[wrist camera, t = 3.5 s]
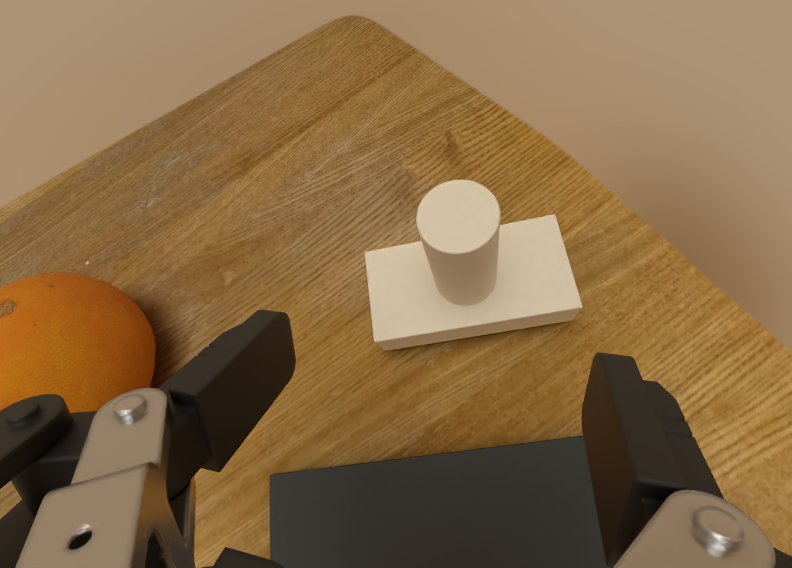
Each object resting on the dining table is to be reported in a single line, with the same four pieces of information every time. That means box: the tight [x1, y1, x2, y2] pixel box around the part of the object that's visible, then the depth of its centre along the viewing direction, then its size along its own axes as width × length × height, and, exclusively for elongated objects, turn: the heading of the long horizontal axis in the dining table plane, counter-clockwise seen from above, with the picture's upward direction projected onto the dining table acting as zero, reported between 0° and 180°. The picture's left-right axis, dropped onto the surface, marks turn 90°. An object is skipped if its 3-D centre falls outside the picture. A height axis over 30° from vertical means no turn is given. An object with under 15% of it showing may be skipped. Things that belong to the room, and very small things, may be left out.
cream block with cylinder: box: [365, 180, 582, 351], centre depth 19 cm, size 10×5×10 cm, turn 97°
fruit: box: [0, 273, 156, 413], centre depth 23 cm, size 10×10×8 cm
